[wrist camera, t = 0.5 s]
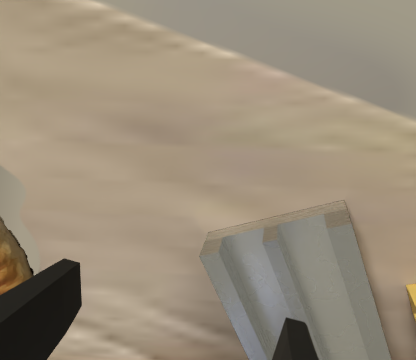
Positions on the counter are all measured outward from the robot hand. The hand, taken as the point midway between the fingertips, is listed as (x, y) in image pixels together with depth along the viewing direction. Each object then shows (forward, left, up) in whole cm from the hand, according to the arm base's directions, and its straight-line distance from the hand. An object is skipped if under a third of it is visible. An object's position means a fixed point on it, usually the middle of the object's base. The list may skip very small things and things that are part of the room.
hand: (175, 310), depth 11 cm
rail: (-11, -2, -10) cm, 15 cm away
